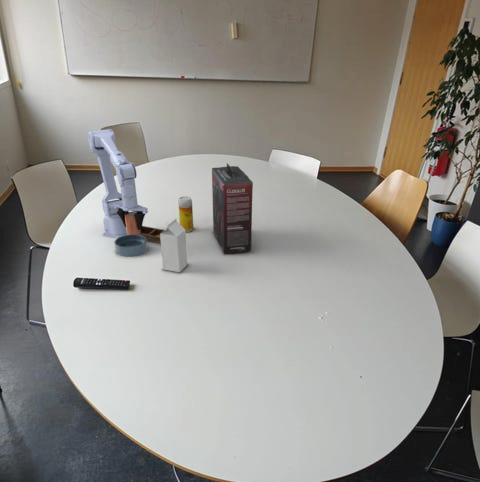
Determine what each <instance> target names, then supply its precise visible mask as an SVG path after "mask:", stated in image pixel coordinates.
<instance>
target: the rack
mask: <svg viewBox="0 0 480 482" xmlns="http://www.w3.org/2000/svg"><path fill="white" fill-rule="evenodd" d="M164 230H165V229H163V228H156V227H151V226H146V225H142V229H141V233H140V234H138V235H141V236H144V237H145V238H146V239H147V243H152V244H158V245H161V240H160V234H161V233H162V232H163V231H164Z"/></svg>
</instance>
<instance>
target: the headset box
mask: <svg viewBox="0 0 480 482" xmlns="http://www.w3.org/2000/svg"><path fill="white" fill-rule="evenodd" d="M253 188H254V182H253V180H251V179H250V178H249V176H248V175H247V174H246V173H245V171H244V170H242V169H241V168H240V167H239V166H238V165H237V166H236V165H230V164H229V163H226V166H220V167H219V166H218V167H211V189H212V193H211V195H212V228H213V229H212V230H213V231H212V232H213V235H214V236H215V238H216V241H217V243H218V244H219V246H220V248H221V251H222V252H223V254H235V253H245V252H246V253H247V252H252V235H253V234H252V233H253V232H252V231H253V230H252V227H253V192H254V191H253V190H254V189H253Z"/></svg>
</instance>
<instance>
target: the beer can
mask: <svg viewBox="0 0 480 482" xmlns="http://www.w3.org/2000/svg"><path fill="white" fill-rule="evenodd" d="M193 211H194V210H193V199H192V197H190V196H179V198H178V216H179V217H178V218H179V224H180V225H181V226H182V227H183V228H184V229H185V233H189V232H192V231H193V229H194V213H193Z"/></svg>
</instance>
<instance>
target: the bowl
mask: <svg viewBox="0 0 480 482" xmlns="http://www.w3.org/2000/svg"><path fill="white" fill-rule="evenodd" d="M114 249H115V253H116V254H117V255H119V256H120V257H131V258H132V257H138V256H141V255H143V254H145V253H146V252H147V251H148V249H149V247H148V242H147V239H146V238H145V237H144V236H141V235H128V234H127V235H125V236H121V237H116V239H115V240H114Z"/></svg>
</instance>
